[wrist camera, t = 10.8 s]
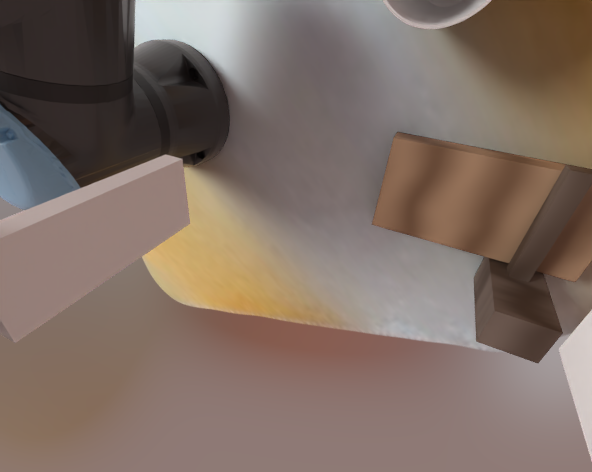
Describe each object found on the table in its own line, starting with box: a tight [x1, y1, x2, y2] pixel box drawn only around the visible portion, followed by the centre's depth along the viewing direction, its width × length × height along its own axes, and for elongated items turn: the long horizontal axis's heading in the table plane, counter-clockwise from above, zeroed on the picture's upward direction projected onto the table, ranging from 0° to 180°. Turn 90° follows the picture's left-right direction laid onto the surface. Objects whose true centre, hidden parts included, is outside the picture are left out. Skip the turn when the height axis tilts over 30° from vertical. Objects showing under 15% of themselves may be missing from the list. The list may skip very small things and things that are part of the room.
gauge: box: [474, 164, 592, 363], centre depth 29 cm, size 5×16×10 cm, turn 174°
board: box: [372, 132, 592, 282], centre depth 32 cm, size 20×10×2 cm, turn 84°
